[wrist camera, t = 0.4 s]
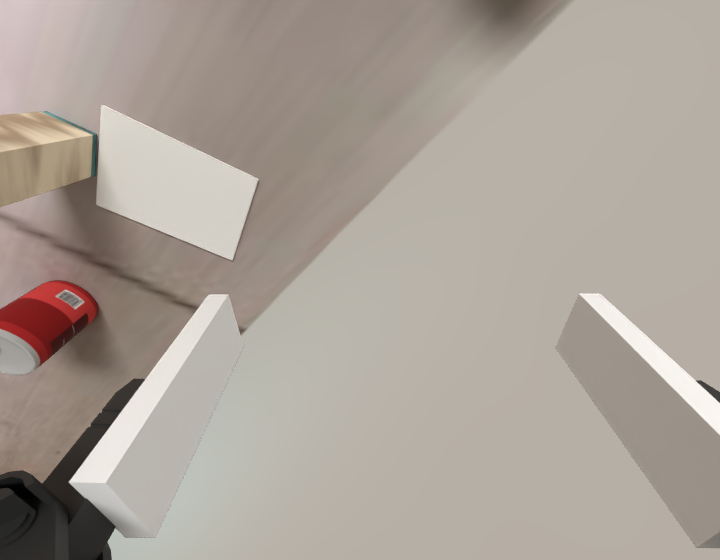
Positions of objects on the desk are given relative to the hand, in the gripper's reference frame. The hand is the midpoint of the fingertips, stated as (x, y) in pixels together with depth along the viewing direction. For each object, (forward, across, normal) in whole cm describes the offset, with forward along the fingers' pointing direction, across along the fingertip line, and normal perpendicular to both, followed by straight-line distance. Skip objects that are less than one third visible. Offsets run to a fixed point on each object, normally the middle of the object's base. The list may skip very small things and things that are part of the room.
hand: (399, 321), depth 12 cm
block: (+28, -34, +2) cm, 44 cm away
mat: (+28, -24, -3) cm, 37 cm away
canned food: (+28, -46, -19) cm, 57 cm away
